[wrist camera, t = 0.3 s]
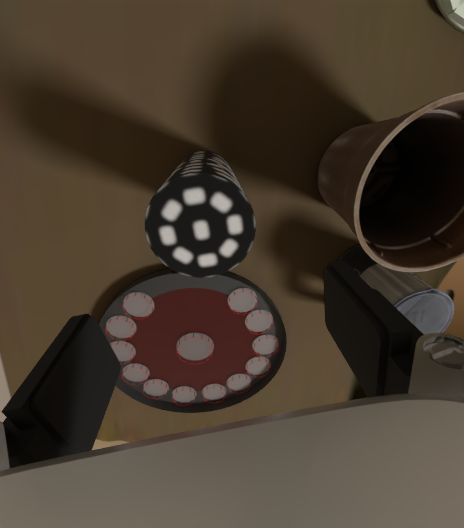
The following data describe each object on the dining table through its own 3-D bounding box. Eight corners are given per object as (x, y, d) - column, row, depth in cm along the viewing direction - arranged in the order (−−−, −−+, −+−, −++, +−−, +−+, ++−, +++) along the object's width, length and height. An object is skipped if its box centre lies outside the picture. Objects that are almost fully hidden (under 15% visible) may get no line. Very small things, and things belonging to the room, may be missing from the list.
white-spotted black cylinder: (169, 156, 36) (129, 183, 18) (229, 146, 36) (249, 163, 18) (182, 215, 40) (161, 285, 22) (237, 206, 40) (260, 269, 22)
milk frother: (333, 248, 44) (386, 298, 31) (426, 231, 44) (519, 274, 31) (332, 314, 51) (375, 379, 38) (413, 300, 51) (485, 360, 37)
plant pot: (279, 193, 39) (320, 230, 25) (350, 79, 33) (456, 42, 19) (359, 240, 44) (432, 294, 30) (434, 147, 38) (570, 159, 24)
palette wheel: (289, 259, 45) (293, 266, 43) (277, 395, 61) (280, 405, 59) (77, 271, 43) (70, 279, 41) (123, 408, 59) (119, 419, 57)
